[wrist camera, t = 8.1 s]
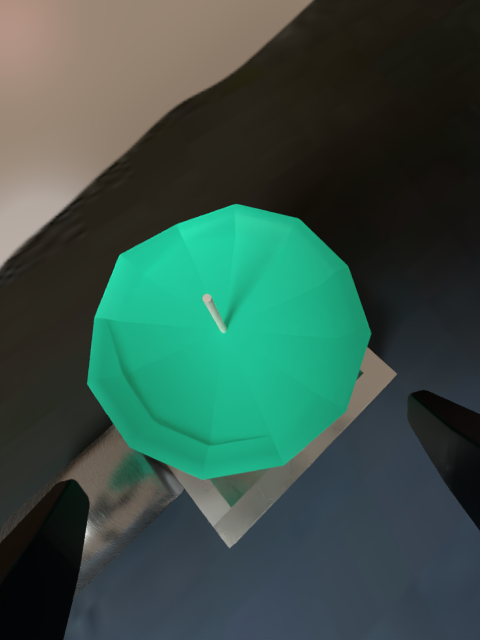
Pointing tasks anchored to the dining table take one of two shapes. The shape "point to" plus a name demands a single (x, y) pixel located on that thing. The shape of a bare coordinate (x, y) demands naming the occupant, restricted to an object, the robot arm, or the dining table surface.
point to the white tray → (183, 484)
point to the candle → (227, 342)
